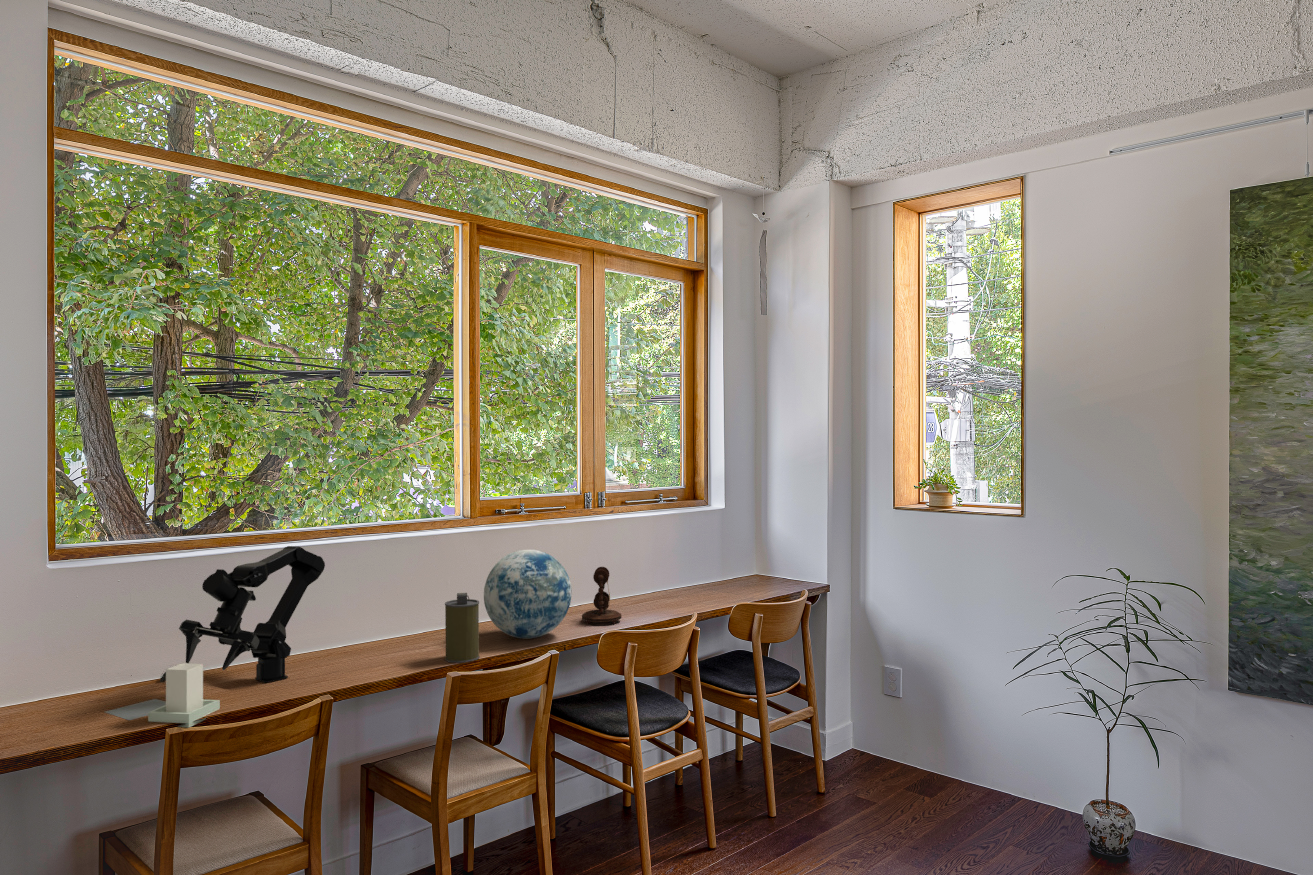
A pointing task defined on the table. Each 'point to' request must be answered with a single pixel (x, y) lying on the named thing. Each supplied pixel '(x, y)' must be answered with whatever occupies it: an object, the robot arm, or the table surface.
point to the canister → (462, 629)
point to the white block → (184, 688)
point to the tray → (184, 714)
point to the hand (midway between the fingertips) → (205, 666)
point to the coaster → (137, 709)
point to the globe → (527, 594)
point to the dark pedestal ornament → (601, 601)
